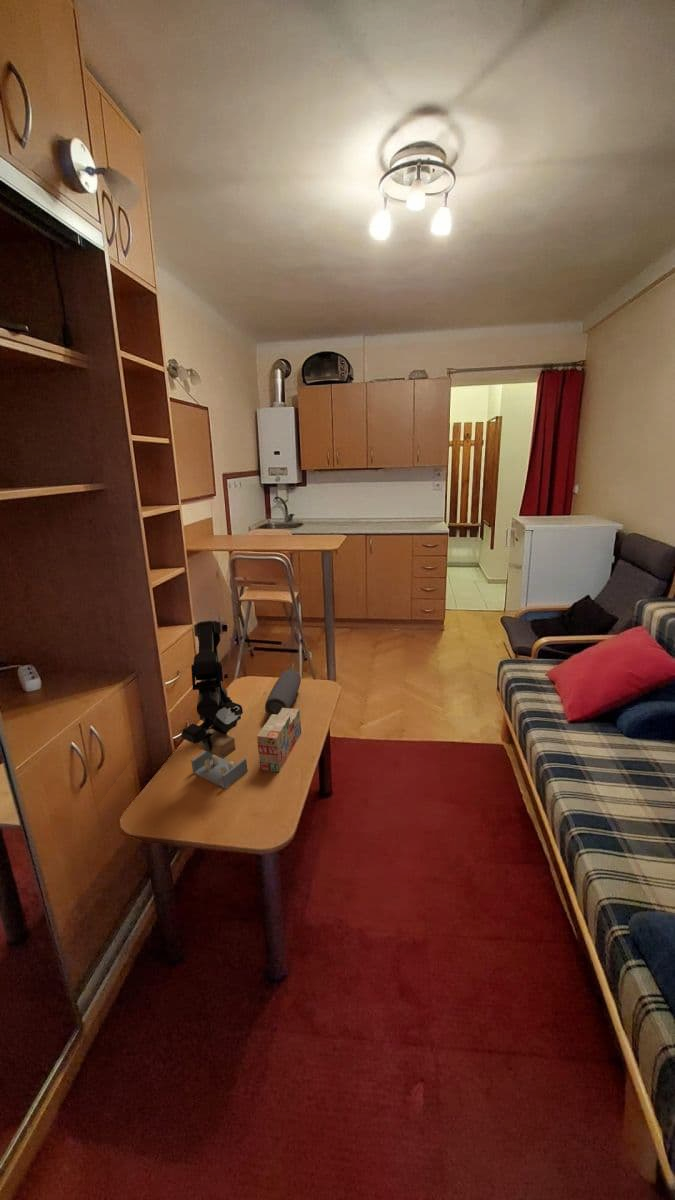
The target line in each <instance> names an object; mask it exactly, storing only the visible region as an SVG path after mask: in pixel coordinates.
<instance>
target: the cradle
mask: <svg viewBox="0 0 675 1200" xmlns="http://www.w3.org/2000/svg"><path fill="white" fill-rule="evenodd" d="M190 761H191V766H192V767H191V768H192V773H193V774H194V775H197V776H199V777H200V778H203V779H205V780H207V781H208V782H211V783H213V784H215V785H217V786H219V787H221V788H223V789H225V790H227V789H228V788H229V787H230V786H231V785H233V784H234V783H235V782H236V781H238V780H239V779H240V778H241V777H243V776H244V775H246V773H247V772H248V771H249V770H248V763H247V758H243V759H241V760H240V761H239V762H237V763H235V762H234V761H233V760H231V761H229V760H226V759H225V758H224V759H222V758H220V757H218V756H215V755H213V754H211V753H209V752H206V751H204V750H203V752H202V753H200V754H198V755H197V756H196V757H195V758H193V759H191V760H190Z"/></svg>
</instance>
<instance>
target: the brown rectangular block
mask: <svg viewBox="0 0 675 1200" xmlns="http://www.w3.org/2000/svg"><path fill="white" fill-rule="evenodd" d="M209 733H211V734H213V735H212V736H211V737H210V738H211V745H212V751H211V752H210V751H208V749H207V748H206V747H205V745H204V744H203V743H202V741H200V742H199V743H198V746H199V749H200V750H202V751H203V752H204V751H206V752H209V753H211V754H213V755H215V756H218V757H220V758H222V759H225V758H226V757H228V756H229V755H231V754H232V753H233V752H235V751H236V750H237V749H236V741H235V738H234V737H233V736H230V735H228V734H227V735H225V734H223V733H220V732H218V731H215V730H213V729H209Z"/></svg>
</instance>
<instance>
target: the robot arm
mask: <svg viewBox="0 0 675 1200" xmlns="http://www.w3.org/2000/svg"><path fill="white" fill-rule="evenodd" d="M193 630H194V636H195V637H196V638H197V639H198V640H197V641H198V653H196V654H195V655H194V656H193V664H191V682H192V684H191V685H192V691H198V696H197V703H196V712H197V714H198V716H199V720H200V721H202V723H201V724H200V725H198V724H195V723H192V724H190V725H188V726H187V727H185V728H183V729H182V730H181V737H182V738H181V739H182V740H186V741H187V742H190V743H192V744H195V745H197V744H199V742H200V741H202V743H203V744H204V745H205V747H206V748H207V749H208V751H210V752H211V751H212V745H211V738H210V737H211V736H212V735H213V734H211V733H209V729H213V730H215V731H218V732H220V733H223V734H225V735H228V732H230V730H232V729H233V728H235V727H237V724H238V721H240V720H241V719H242V717H241V716H242V715H243V713H244V712H243V707H242V705H241V704H239V703H236V702H233V700H232V699H231V696H229V695H228V690H227V689H226V688H225V687H224V686H223V684H222V682H224V671H223V665H222V664H221V661H220V660H219V652H218V646H219V644H220V641H221V635H222V634H223V629H222V622H220V621H218V620H206V621H205V620H204V621H199V622H197V623H196V624H194V625H193ZM196 681H200V682H196Z"/></svg>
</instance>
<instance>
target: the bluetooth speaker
mask: <svg viewBox="0 0 675 1200" xmlns="http://www.w3.org/2000/svg"><path fill="white" fill-rule="evenodd" d="M301 681H302V679H301V676H300V674H299V672H297V671H296V670H293V669H286V670H284V671H283V672H282V673H281V675H280V676H279V677H278V678H277V680H276V682H275V683H274V685H273V687H272V689H271V690H270V692H269V694H268V695H267V699H266V700H265V706H264V710H265V713H266V714H267V715H268V716H269V717H271V715H272V714H276V715H278V714H279V712H280V711H281V709H282V708H290V709H291V707H292V705H293V704H294V702H295V700H296V697H297V694H298V692H299V690H300V689H299V688H300V686H301V683H302V682H301Z"/></svg>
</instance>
